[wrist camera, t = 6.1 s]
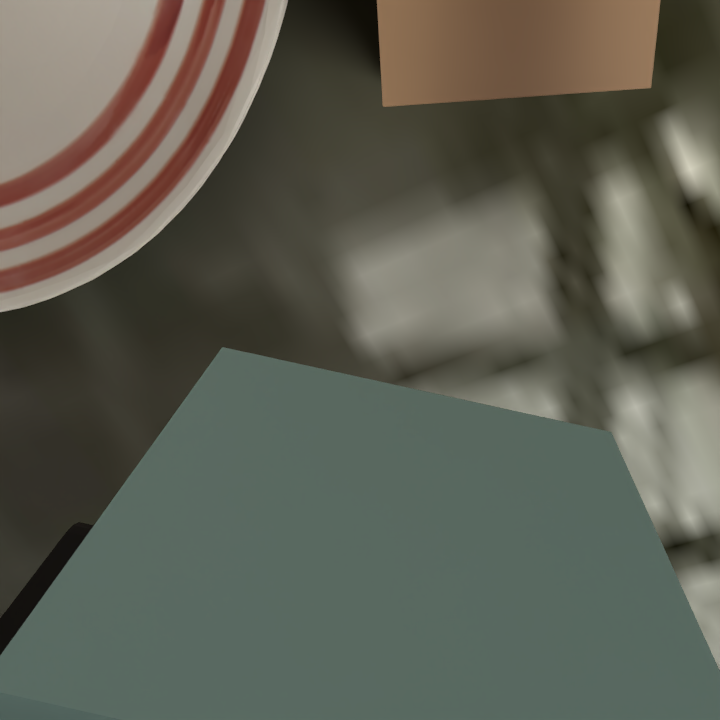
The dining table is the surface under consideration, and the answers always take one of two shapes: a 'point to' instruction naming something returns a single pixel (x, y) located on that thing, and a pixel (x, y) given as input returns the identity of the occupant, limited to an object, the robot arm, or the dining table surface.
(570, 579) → the teal cube
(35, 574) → the robot arm
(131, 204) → the dinner plate
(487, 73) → the walnut cube
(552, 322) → the dining table surface
